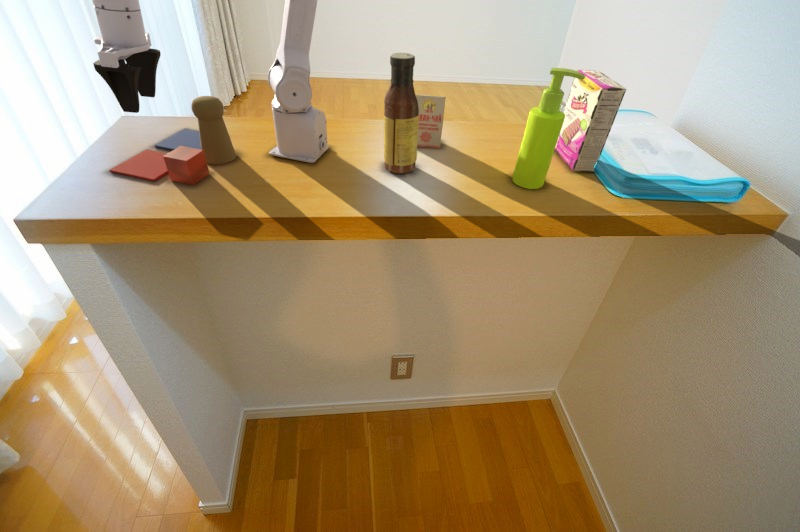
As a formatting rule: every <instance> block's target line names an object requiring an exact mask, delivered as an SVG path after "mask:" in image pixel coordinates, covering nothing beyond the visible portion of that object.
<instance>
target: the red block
mask: <svg viewBox="0 0 800 532" xmlns="http://www.w3.org/2000/svg"><path fill="white" fill-rule="evenodd" d="M163 158H164V161H165V164H166V167H167V170H168V173H167V174H168V175H169V180H170V181H172V182H176V183H180V184H185V185H190V186H195V185H197V184H198V183H199V182H201V181H202V180H204V179H205V178H206V177H207V176H209V175H210V169H209V166H208V163H207V161H206V158H205V154H204V150H200V149H195V148H190V147H185V146H180V147H178V148H176V149H174V150H173V151H172V150H170V151H169V152H168V153H167V154H166V155H164V156H163Z"/></svg>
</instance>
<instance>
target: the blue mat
mask: <svg viewBox="0 0 800 532" xmlns="http://www.w3.org/2000/svg"><path fill="white" fill-rule="evenodd" d="M153 146H154V148H157V149H163V150H167V151H173V150H174V149H176V148H178V147H180V146H185V147H190V148H195V149H200V150H201V142H200V134H199V130H195V129H189V128H183V129H182V130H180V131H178V132H176V133H174V134H172V135H171V136H168V137H167V138H165V139H163V140H161V141H159V142H157V143H156V144H154V145H153Z"/></svg>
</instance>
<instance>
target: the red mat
mask: <svg viewBox="0 0 800 532" xmlns="http://www.w3.org/2000/svg"><path fill="white" fill-rule="evenodd" d="M166 154H168V153H167V152H162V151H157V150H152V149H145V150H142V151H141V152H139V153H137V154H136V155H134V156H132V157H130V158H128V159H126V160H125V161H123V162H121V163H119V164H117V165H115V166H114V167H112V168H110V169H108V171H109V173H114V174H118V175H121V176H126V177H131V178H135V179H141V180H146V181H151V182H155V181H157V180H159V179H161V178H162V177H164V176H166V175H167V174H169V173H168V170H167V167H166V164H165V161H164V158H163V156H164V155H166Z"/></svg>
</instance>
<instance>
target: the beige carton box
mask: <svg viewBox="0 0 800 532" xmlns="http://www.w3.org/2000/svg"><path fill="white" fill-rule="evenodd" d="M415 95H416V98H417V100H418V107H419V118H418V139H417V147H420V148H433V149H441V141H442V134H443V126H444V117H445V108H446V99H447V98H446V96H440V95H438V96H437V95H429V94H416V93H415Z"/></svg>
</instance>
